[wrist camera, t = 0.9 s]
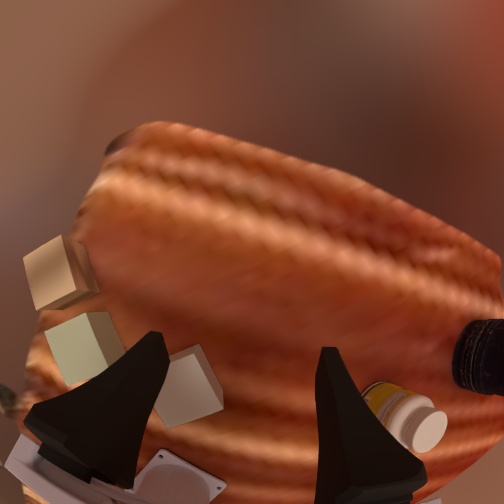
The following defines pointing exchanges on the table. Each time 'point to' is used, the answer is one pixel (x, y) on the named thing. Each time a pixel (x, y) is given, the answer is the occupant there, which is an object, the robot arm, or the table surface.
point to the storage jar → (480, 357)
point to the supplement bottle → (406, 415)
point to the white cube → (188, 389)
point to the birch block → (60, 274)
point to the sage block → (85, 346)
